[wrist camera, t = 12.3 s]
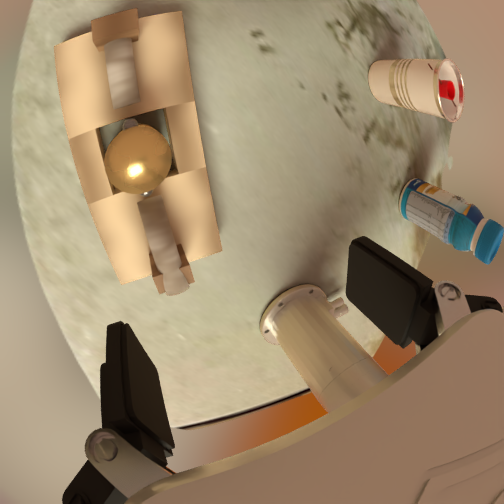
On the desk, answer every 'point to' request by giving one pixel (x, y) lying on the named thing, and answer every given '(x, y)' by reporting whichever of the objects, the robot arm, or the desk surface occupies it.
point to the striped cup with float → (419, 86)
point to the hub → (137, 159)
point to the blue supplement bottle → (450, 219)
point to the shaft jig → (127, 105)
